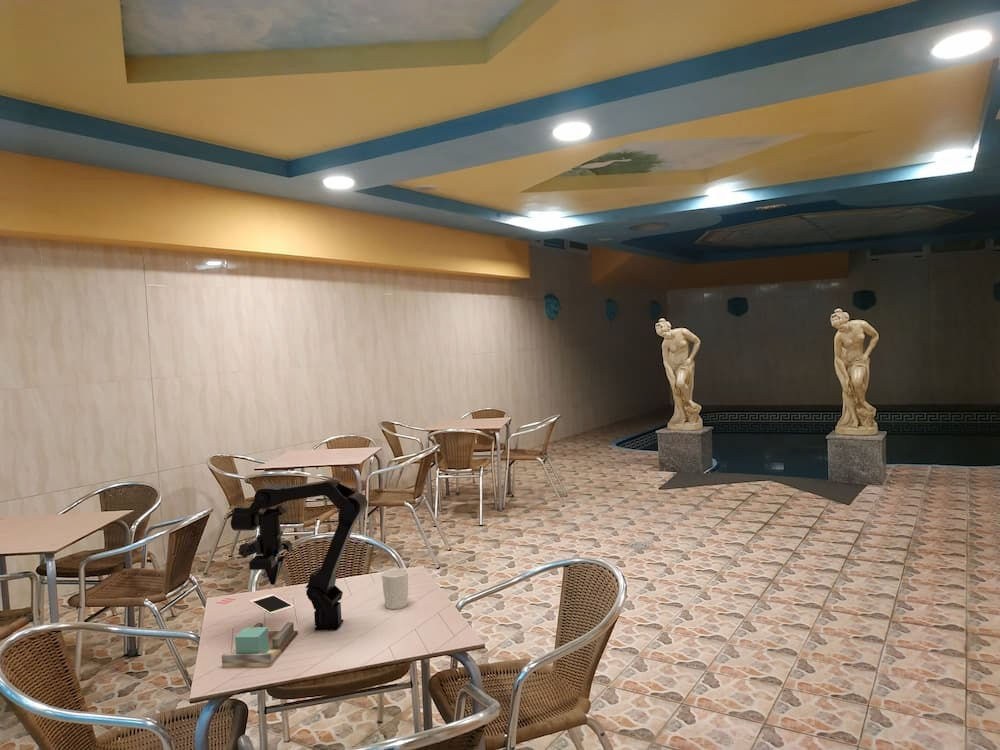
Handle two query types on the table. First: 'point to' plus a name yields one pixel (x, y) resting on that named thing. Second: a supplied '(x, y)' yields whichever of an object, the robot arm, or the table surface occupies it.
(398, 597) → the white cup
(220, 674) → the table surface
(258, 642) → the block
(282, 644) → the chute
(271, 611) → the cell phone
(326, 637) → the table surface
